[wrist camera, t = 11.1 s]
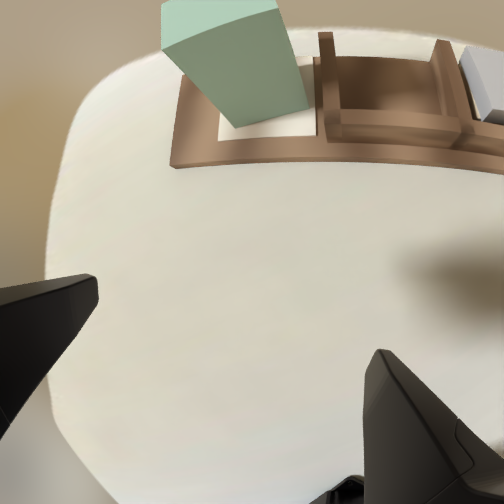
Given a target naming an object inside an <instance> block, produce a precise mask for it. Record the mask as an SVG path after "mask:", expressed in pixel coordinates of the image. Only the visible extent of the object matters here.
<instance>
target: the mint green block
mask: <svg viewBox="0 0 504 504" xmlns="http://www.w3.org/2000/svg"><path fill="white" fill-rule="evenodd" d="M161 8H162V9H161V50H162V51H163V52H164V53H165V54H166V55H167V56H168V57H169V58H170V59H171V60H172V61H173V62H174V63H175V64H176V65H177V66H178V67H179V68H180V69H181V70H182V71H183V72H184V73H185V75H186V76H187V77H188V78H189V79H190V80H191V81H192V82H193V83H194V84H195V85H196V86H197V87H198V88H199V89H200V90H201V91H202V93H203V94H204V95H205V96H206V97H207V98H208V99H209V100H210V101H211V102H212V103H213V105H214V106H215V107H216V108H217V109H218V110H219V111H220V112H221V113H222V114H223V116H224V117H225V118H226V119H227V120H228V121H229V122H230V123H231V125H232V126H233V127H234V128H235V129H236V128H239V127H242V126H246V125H249V124H252V123H256V122H259V121H263V120H267V119H270V118H274V117H278V116H282V115H286V114H290V113H294V112H298V111H302V110H307V109H310V107H309V103H308V100H307V96H306V92H305V89H304V85H303V82H302V79H301V75H300V72H299V68H298V65H297V62H296V59H295V55H294V52H293V49H292V46H291V43H290V40H289V37H288V34H287V31H286V28H285V25H284V22H283V20H282V17H281V14H280V11H279V8H278V6H277V3H276V1H275V0H170V1H168V2H165V3H163V4H162V5H161Z"/></svg>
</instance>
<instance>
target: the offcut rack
mask: <svg viewBox="0 0 504 504" xmlns="http://www.w3.org/2000/svg"><path fill="white" fill-rule="evenodd" d="M318 38H319V49H320V57H313V56H302V57H295V59H296V62H297V65H298V68H299V72H300V75H301V79H302V82H303V85H304V89H305V92H306V96H307V100H308V103H309V107H310V109H307V110H302V111H298V112H294V113H290V114H286V115H282V116H278V117H274V118H270V119H267V120H263V121H259V122H256V123H252V124H249V125H246V126H242V127H239V128H236V129H235V128H234V127H233V126H232V125H231V123H230V122H229V121H228V120H227V119H226V118H225V117H224V116H223V114H222V113H221V112H220V111H219V110H218V109H217V108H216V107H215V106H214V105H213V103H212V102H211V101H210V100H209V99H208V98H207V97H206V96H205V95H204V94H203V93H202V91H201V90H200V89H199V88H198V87H197V86H196V85H195V84H194V83H193V82H192V81H191V80H190V79H189V78H188V77H187V76H186V75H182V81H181V86H180V92H179V98H178V105H177V111H176V118H175V125H174V132H173V140H172V148H171V156H170V166H171V167H173V168H175V169H180V168H190V167H202V166H214V165H229V164H246V163H269V162H372V163H394V164H410V165H424V166H435V167H446V168H456V169H465V170H473V171H481V172H488V173H495V174H502V175H504V126H502V125H497V124H492V123H487V122H482V121H476V120H472V115H471V111H470V107H469V103H468V99H467V95H466V91H465V87H464V84H463V80H462V77H461V74H460V70H459V67H458V64H457V61H456V58H455V55H454V52H453V49H452V47H451V44H450V41H445V40H439V39H437V41H436V44H435V47H434V50H433V53H432V56H431V59H430V62H425V61H417V60H408V59H396V58H382V57H357V56H336V55H335V47H334V39H333V32H318Z"/></svg>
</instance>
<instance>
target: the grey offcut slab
mask: <svg viewBox="0 0 504 504" xmlns="http://www.w3.org/2000/svg"><path fill="white" fill-rule="evenodd" d="M459 62H460V65H461V67H462V69H463V72H464V74H465V76H466V79H467V81H468V84H469V87H470V89H471V92H472V95H473V97H474V100H475V103H476V106H477V109H478V112H479V115H480V118H481V121H482V122H489V123H501V124H504V52H501V51H496V50H491V49H485V48H479V47H472V46H466V47H465V49H464V52H463V54H462V56H461V58H460V60H459Z"/></svg>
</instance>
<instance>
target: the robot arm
mask: <svg viewBox="0 0 504 504" xmlns="http://www.w3.org/2000/svg"><path fill="white" fill-rule="evenodd" d="M98 300H99V296H98V282H97V278H96V277H95V276H92V275H89V274H80V275H74V276H68V277H62V278H56V279H51V280H45V281H39V282H33V283H28V284H22V285H17V286H11V287H6V288H0V440H1V438H2V437H3V435H4V434H5V432H6V431H7V429H8V428H9V426H10V424H11V423H12V422H13V420H14V419H15V417H16V416H17V414H18V413H19V411H20V410H21V409H22V407H23V406H24V404H25V403H26V402H27V400H28V399H29V397H30V396H31V395H32V393H33V392H34V390H35V389H36V388H37V386H38V385H39V384H40V382H41V381H42V380H43V378H44V377H45V376H46V374H47V373H48V372H49V370H50V369H51V368H52V366H53V365H54V364H55V363H56V361H57V360H58V359H59V357H60V356H61V355H62V354H63V352H64V351H65V350H66V349H67V347H68V346H69V345H70V344H71V342H72V341H73V340H74V339H75V337H76V336H77V334H78V333H79V331H80V330H81V328H82V327H83V325H84V324H85V322H86V321H87V319H88V318H89V316H90V315H91V313H92V312H93V310H94V309H95V308H96V306H97V304H98ZM457 418H458V417H457V416H456V415H455V414H454V413H453V412H452V411H451V410H450V409H449V408H448V407H447V406H446V405H445V404H444V403H443V402H442V401H441V400H440V399H439V398H438V397H437V396H436V395H435V394H434V393H433V392H432V391H431V390H430V389H429V388H428V387H427V386H426V385H425V384H424V383H423V382H422V381H421V380H420V379H419V378H418V377H417V376H416V375H415V374H414V373H413V372H412V371H411V370H410V369H409V368H408V367H407V366H406V365H405V364H404V363H403V362H402V361H400V360H399V359H398V358H397V357H396V356H395V355H394V354H393V353H392V352H391V351H390V350H385V349H377V350H376V351H375V353H374V355H373V357H372V359H371V361H370V363H369V365H368V367H367V370H366V373H365V385H364V405H363V437H364V482H362V481H360V480H358V479H356V478H354V477H347V478H345V479H344V480H343V481H342V482H340V483H339V484H338V485H337V486H335V487H334V488H333V489H331V490H329V491H326V492H325V493H324V494H322V495H321V496H319V497H318V498H317V499H315V500H314V501H312V502H311V503H309V504H504V459H503V458H501V457H500V456H499V455H498V454H497V453H496V452H495V451H493V450H492V449H491V448H490V447H489V446H488V445H486V444H485V443H484V442H483V441H482V440H481V439H480V438H479V437H478V436H476V435H475V434H474V433H473V432H472V431H471V430H470V429H469V428H468V427H467V426H466V425H465V424H464V423H463V422H462V421H461V420H460V419H459V418H458V419H457ZM348 482H352V483H348Z"/></svg>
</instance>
